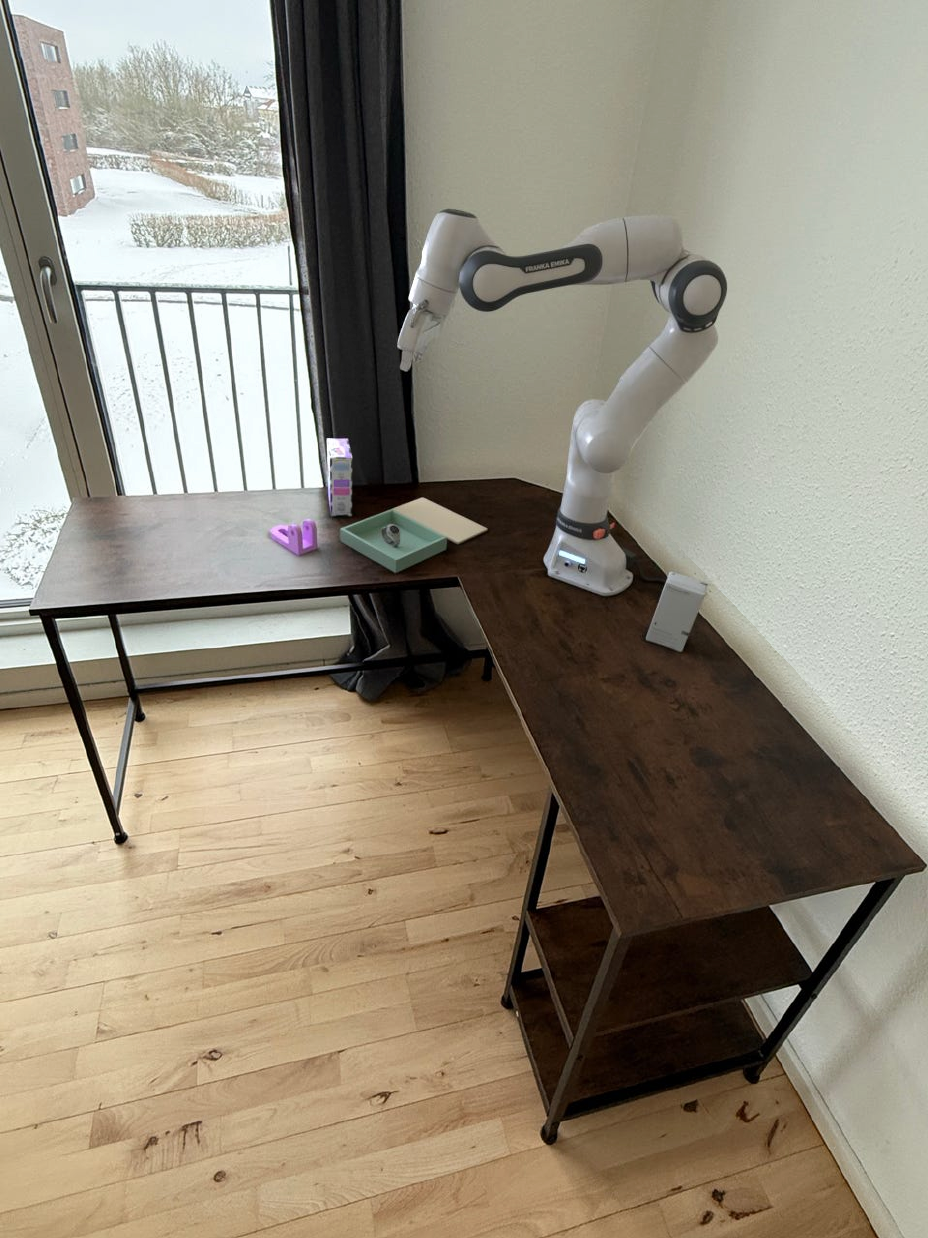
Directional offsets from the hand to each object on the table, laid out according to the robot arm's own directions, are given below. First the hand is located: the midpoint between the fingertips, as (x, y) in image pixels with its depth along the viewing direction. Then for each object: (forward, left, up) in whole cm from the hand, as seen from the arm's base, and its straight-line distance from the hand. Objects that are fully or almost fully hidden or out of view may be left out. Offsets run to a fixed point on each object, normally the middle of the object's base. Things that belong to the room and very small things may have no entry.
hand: (410, 365), depth 141 cm
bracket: (+19, +19, -44) cm, 52 cm away
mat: (+4, -18, -44) cm, 48 cm away
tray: (+2, +1, -44) cm, 44 cm away
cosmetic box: (-65, -16, -44) cm, 80 cm away
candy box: (+27, -3, -44) cm, 52 cm away
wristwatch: (+3, +1, -44) cm, 44 cm away
